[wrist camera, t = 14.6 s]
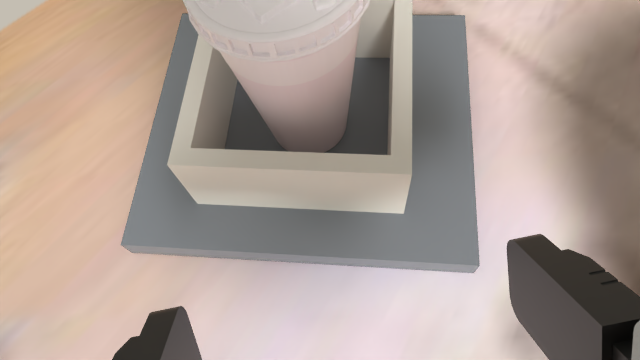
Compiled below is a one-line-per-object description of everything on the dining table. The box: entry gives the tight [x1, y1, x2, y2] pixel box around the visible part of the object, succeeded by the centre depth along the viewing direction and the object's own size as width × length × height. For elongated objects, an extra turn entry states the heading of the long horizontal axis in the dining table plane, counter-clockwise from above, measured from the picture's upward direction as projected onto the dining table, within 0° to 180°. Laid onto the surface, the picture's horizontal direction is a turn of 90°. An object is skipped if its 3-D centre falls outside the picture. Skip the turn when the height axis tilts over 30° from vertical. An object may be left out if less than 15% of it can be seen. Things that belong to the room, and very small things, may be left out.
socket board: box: [121, 0, 479, 273], centre depth 23 cm, size 16×14×5 cm
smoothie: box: [183, 0, 370, 153], centre depth 18 cm, size 6×6×14 cm
